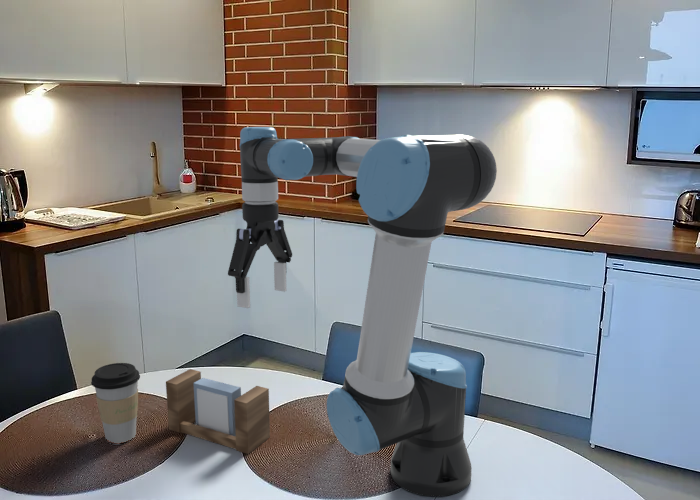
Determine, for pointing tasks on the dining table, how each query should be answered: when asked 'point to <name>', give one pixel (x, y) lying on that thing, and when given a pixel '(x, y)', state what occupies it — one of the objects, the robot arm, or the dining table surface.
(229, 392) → the door panel
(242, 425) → the track
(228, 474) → the dining table surface
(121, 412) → the coffee cup
